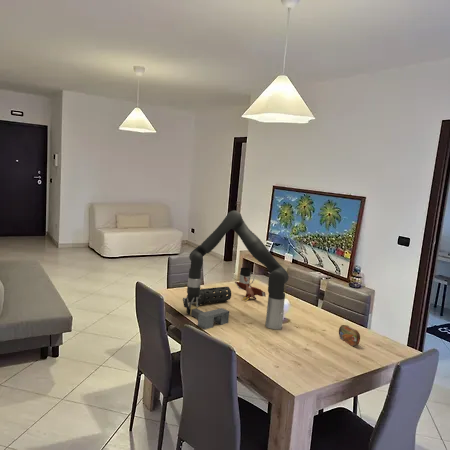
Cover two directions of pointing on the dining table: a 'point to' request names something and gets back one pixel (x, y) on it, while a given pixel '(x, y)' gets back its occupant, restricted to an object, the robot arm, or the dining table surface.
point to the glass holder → (245, 275)
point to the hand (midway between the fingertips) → (191, 313)
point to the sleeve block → (213, 318)
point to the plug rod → (194, 311)
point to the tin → (349, 335)
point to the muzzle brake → (215, 295)
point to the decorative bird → (250, 290)
